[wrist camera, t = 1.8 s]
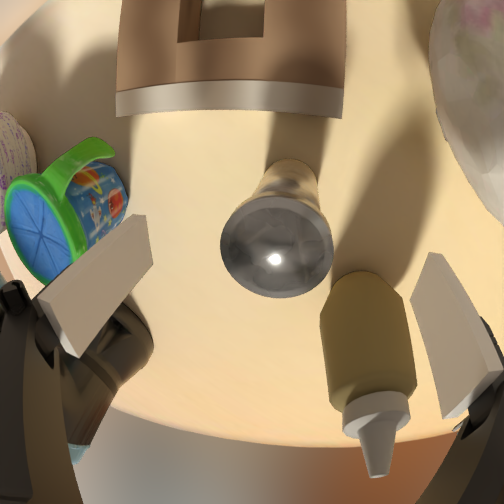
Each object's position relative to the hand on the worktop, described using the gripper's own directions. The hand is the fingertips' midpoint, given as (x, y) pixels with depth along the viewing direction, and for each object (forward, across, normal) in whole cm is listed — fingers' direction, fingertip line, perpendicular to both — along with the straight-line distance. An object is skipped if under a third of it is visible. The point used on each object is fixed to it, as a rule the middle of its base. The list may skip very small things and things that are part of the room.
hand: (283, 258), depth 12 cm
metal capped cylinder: (+12, 0, 0) cm, 12 cm away
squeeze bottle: (+12, -8, +10) cm, 17 cm away
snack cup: (+12, +20, +2) cm, 23 cm away
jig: (+12, +6, -14) cm, 19 cm away
